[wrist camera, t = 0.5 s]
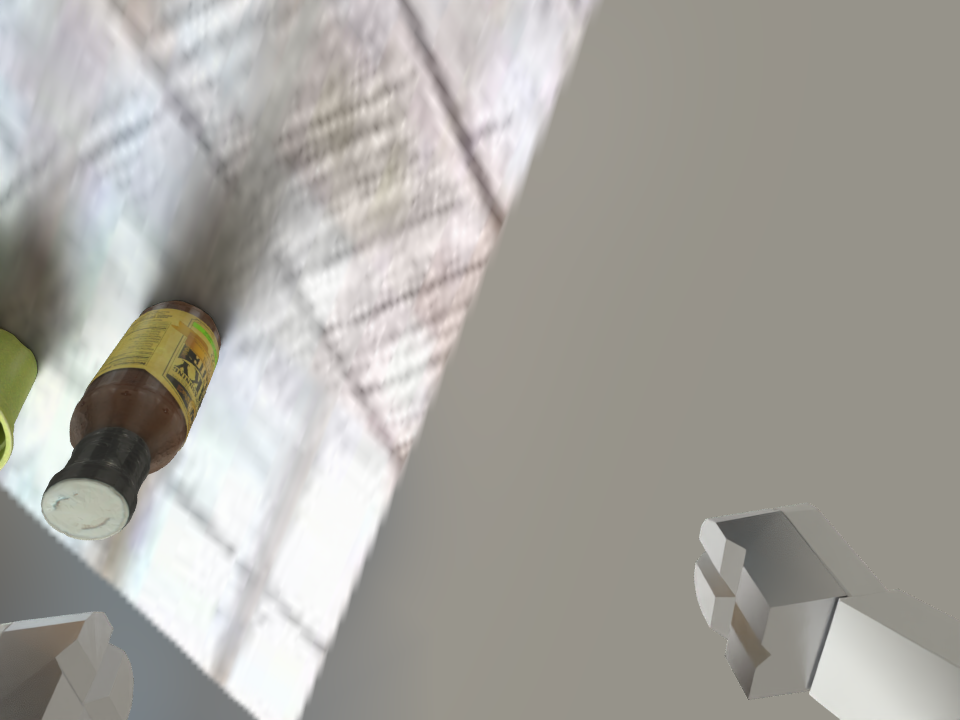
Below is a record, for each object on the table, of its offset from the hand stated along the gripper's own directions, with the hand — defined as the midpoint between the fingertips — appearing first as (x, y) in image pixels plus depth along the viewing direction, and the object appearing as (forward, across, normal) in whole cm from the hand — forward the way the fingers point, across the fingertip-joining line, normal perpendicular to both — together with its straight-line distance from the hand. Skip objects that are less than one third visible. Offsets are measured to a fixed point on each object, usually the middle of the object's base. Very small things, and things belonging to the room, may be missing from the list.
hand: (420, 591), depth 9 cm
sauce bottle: (+41, +17, +15) cm, 46 cm away
